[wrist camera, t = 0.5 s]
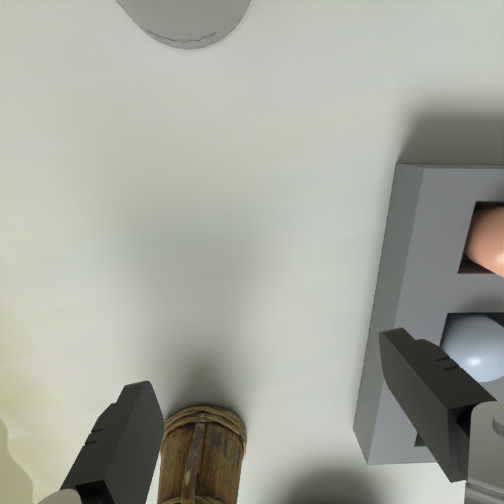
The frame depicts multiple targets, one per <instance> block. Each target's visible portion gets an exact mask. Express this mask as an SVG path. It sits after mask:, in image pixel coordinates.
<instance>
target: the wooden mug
mask: <svg viewBox="0 0 504 504" xmlns="http://www.w3.org/2000/svg"><path fill="white" fill-rule="evenodd" d="M246 441H247V437H246V429H245V426H244V424H243V423H242V421H241V420H240V418H239V417H238V416H237V415H235V414H234V413H233V412H232V411H229V410H227V409H224V408H221V407H215V406H210V405H209V406H192V407H188V408H185V409H183V410H181V411H178V412H176V413H175V414H174V415H173V416H171V417H170V418H169V419H167V421H166V423H165V425H164V436H163V440H162V444H161V447H160V454H161V467H160V477H159V488H158V499H157V504H237V496H238V489H239V481H240V473H241V465H242V461H243V459H244V455H245V452H246Z"/></svg>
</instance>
